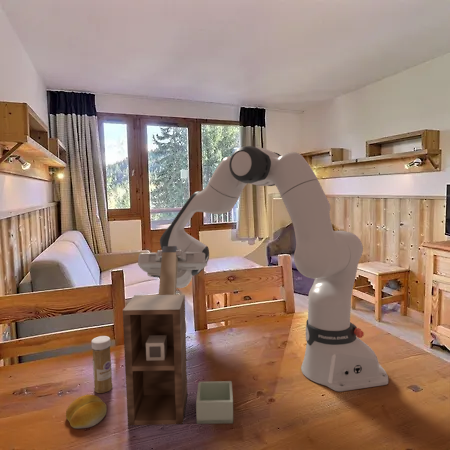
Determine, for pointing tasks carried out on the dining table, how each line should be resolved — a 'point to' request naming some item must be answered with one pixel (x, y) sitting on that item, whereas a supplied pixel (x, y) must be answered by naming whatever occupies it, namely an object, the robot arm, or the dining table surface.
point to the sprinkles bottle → (102, 364)
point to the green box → (214, 402)
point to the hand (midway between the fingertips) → (169, 252)
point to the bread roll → (86, 411)
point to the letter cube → (156, 347)
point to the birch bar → (168, 271)
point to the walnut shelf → (155, 369)
